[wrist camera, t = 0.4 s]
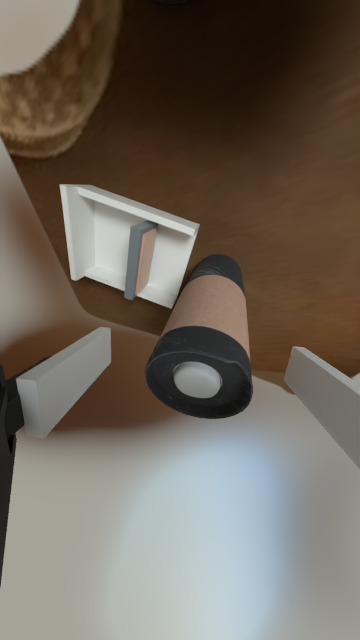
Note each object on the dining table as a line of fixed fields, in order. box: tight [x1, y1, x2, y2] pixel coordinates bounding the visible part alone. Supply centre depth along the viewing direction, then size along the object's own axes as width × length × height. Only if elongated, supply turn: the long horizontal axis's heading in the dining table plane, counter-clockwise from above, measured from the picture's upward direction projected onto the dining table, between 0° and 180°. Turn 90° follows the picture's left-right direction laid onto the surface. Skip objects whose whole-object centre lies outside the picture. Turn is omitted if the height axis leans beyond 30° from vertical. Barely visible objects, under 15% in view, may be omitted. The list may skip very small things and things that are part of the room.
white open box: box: [60, 184, 200, 309], centre depth 26 cm, size 12×16×6 cm
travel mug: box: [145, 254, 253, 419], centre depth 20 cm, size 8×8×20 cm
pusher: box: [124, 220, 158, 300], centre depth 25 cm, size 10×2×6 cm, turn 164°
